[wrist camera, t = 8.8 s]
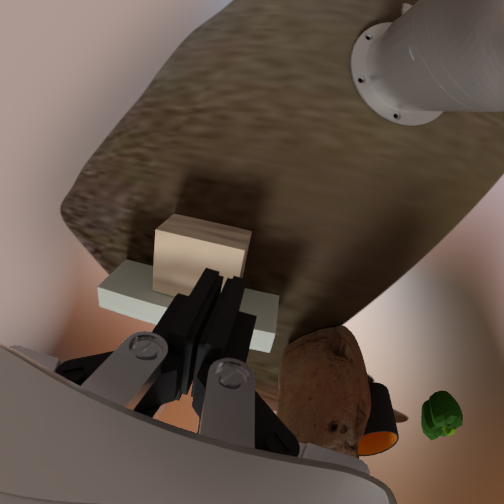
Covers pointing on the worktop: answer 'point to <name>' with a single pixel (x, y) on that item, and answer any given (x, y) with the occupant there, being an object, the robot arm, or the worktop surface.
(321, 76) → the worktop surface
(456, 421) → the bell pepper
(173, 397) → the robot arm
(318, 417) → the brown rounded tall lump
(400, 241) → the worktop surface
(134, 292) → the sage board
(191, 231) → the beech block
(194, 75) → the worktop surface
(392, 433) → the mug
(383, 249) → the worktop surface
